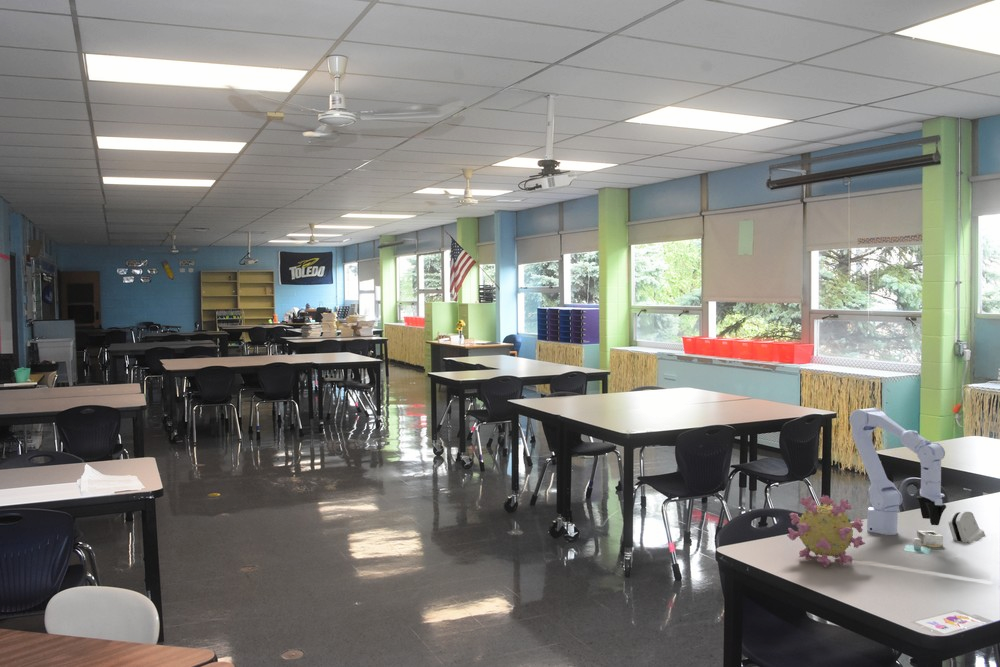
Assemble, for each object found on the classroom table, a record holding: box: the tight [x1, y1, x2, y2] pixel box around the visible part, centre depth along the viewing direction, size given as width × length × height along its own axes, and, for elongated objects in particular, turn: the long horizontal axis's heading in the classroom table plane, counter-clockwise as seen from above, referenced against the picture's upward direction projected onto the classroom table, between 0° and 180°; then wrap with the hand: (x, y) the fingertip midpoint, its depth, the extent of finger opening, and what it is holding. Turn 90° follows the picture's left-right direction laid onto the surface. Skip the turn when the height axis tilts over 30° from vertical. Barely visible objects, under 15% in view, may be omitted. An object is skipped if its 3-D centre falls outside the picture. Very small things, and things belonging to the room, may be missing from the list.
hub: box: [921, 534, 943, 548], centre depth 252 cm, size 7×7×4 cm
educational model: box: [786, 494, 866, 569], centre depth 237 cm, size 23×22×20 cm
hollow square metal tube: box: [916, 530, 944, 546], centre depth 252 cm, size 6×6×3 cm
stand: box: [903, 537, 932, 555], centre depth 246 cm, size 7×7×4 cm
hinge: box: [948, 511, 986, 544], centre depth 260 cm, size 17×5×10 cm, turn 134°
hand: (930, 521), depth 251 cm, fingers open, 7 cm apart
